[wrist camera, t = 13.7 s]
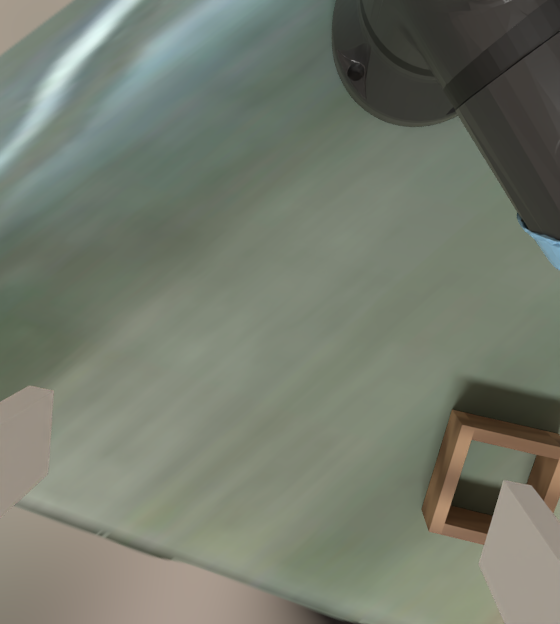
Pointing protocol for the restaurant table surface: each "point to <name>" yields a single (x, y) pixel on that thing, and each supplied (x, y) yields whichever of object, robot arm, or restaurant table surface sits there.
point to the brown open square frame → (460, 431)
